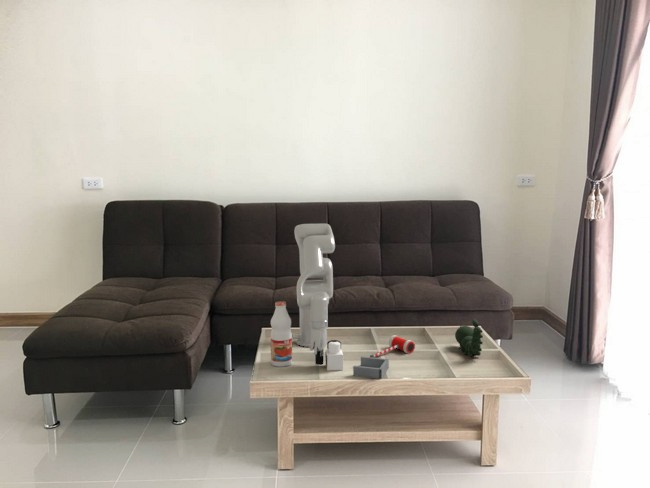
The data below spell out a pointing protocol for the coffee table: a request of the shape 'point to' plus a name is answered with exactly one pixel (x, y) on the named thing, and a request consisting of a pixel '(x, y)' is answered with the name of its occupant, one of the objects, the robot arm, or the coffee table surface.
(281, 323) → the fruit juice
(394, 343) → the toy hammer
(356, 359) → the coffee table surface
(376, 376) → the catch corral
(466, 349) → the toy figurine
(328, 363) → the medicine bottle
